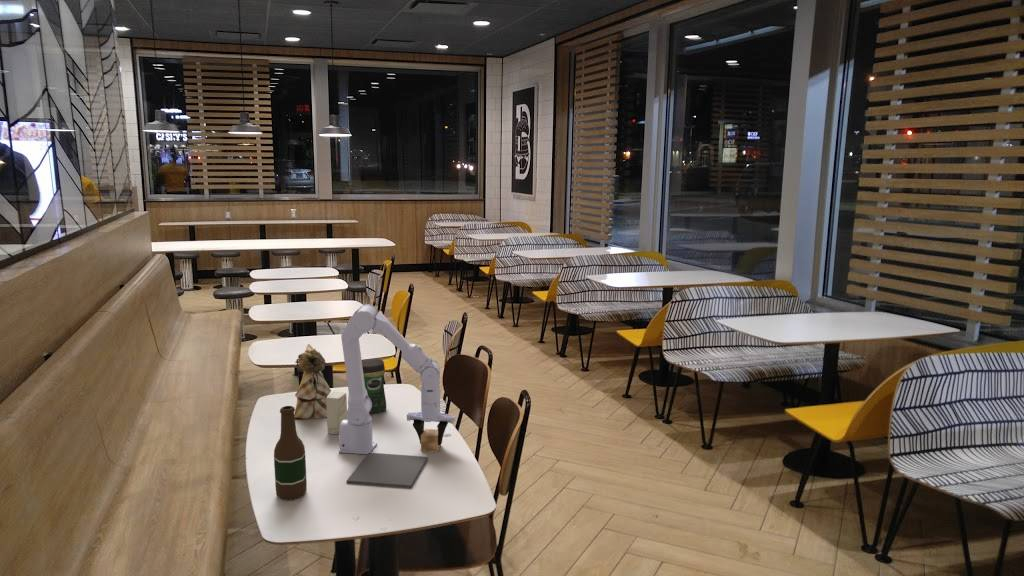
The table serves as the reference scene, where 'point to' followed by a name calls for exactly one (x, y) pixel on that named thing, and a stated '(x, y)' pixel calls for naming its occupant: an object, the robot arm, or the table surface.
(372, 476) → the charcoal mat
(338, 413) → the skincare box
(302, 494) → the beer bottle
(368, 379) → the coffee jar
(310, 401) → the plush toy
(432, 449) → the oak cube
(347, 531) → the table surface
